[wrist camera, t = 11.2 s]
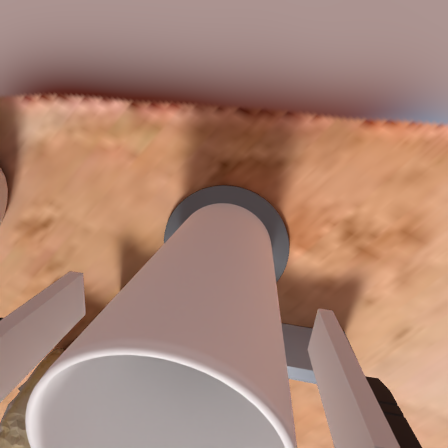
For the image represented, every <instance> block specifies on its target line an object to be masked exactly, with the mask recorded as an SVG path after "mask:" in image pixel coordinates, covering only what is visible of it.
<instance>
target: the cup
mask: <svg viewBox="0 0 448 448" xmlns="http://www.w3.org/2000/svg"><path fill="white" fill-rule="evenodd" d="M25 424H26V433H27V437H28V441H29V444H30V447H31V448H297V443H296V435H295V427H294V419H293V411H292V403H291V395H290V387H289V379H288V371H287V363H286V355H285V348H284V340H283V332H282V324H281V316H280V308H279V301H278V293H277V285H276V277H275V269H274V262H273V254H272V246H271V240H270V236H269V234H268V231H267V229H266V227H265V226H264V224H263V223H262V222H261V221H260V219H259V218H258V217H257V216H255V215H254V214H253V213H252V212H250V211H249V210H247V209H245V208H243V207H240V206H237V205H234V204H228V203H217V204H211V205H208V206H205V207H202V208H200V209H199V210H197V211H195V212H194V213H193V214H192V215H191V216H190V217H189V218H188V219H187V220H186V221H185V222H184V223H183V224H182V225H181V226H180V227H179V228H178V229H177V230H176V232H175V233H174V234H173V235H172V236H171V237H170V238H169V239H168V240H167V241H166V242H165V243H164V244H163V246H162V247H161V248H160V249H159V250H158V251H157V252H156V253H155V254H154V255H153V256H152V257H151V258H150V260H149V261H148V262H147V263H146V264H145V265H144V266H143V267H142V268H141V269H140V270H139V271H138V272H137V273H136V275H135V276H134V277H133V278H132V279H131V280H130V281H129V282H128V283H127V284H126V285H125V286H124V287H123V289H122V290H121V291H120V292H119V293H118V294H117V295H116V296H115V297H114V298H113V299H112V300H111V301H110V303H109V304H108V305H107V306H106V307H105V308H104V309H103V310H102V311H101V312H100V313H99V314H98V315H97V317H96V318H95V319H94V320H93V321H92V322H91V323H90V324H89V325H88V326H87V327H86V328H85V330H84V331H83V332H82V333H81V334H80V335H79V336H78V337H77V338H76V339H75V340H74V341H73V343H72V344H71V345H70V346H69V347H68V348H67V349H66V350H65V351H64V352H63V353H62V354H61V355H60V357H59V358H58V359H57V360H56V361H55V362H54V363H53V364H52V365H51V366H50V367H49V369H48V370H47V371H46V373H45V374H44V375H43V377H42V378H41V379H40V381H39V382H38V383H37V385H36V386H35V387H34V389H33V391H32V393H31V395H30V398H29V401H28V403H27V408H26V417H25Z"/></svg>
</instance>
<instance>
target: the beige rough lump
mask: <svg viewBox="0 0 448 448" xmlns="http://www.w3.org/2000/svg"><path fill="white" fill-rule="evenodd" d="M63 352H64V350H63V349H61V348H60V349H55V350H53V351H52V352H50V353H49V354H48V355H47V356H46V357H45V358H44V359H43V360H42V361H41V362H40V364H39V365H38V366H37V368H36V369H35V370H34V372H33V373H32V375H31V376H30V377H29V379H28V380H27V381H26V382H25V383H24V384H23V385H22V386H21V387H19V388H18V389H19V390H20V392H19V393H18V395H17V396H16V397H15V398H14V399H13V400H12V401H11V402H10V403H9V404H8V407H7V409H6V411H5V413H4V416H3V418H2V420H1V423H0V448H31V447H30V444H29V441H28V437H27V433H26V424H25V417H26V408H27V403H28V401H29V398H30V395H31V393H32V391H33V389H34V387H35V386H36V385H37V383H38V382H39V381H40V379H41V378H42V377H43V375H44V374H45V373H46V371H47V370H48V369H49V367H50V366H51V365H52V364H53V363H54V362H55V361H56V360H57V359H58V358H59V357H60V355H61V354H62V353H63Z"/></svg>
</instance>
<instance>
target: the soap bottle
mask: <svg viewBox="0 0 448 448" xmlns="http://www.w3.org/2000/svg"><path fill="white" fill-rule="evenodd" d="M7 196H8V187H7V182H6V178H5V175H4V173H3V171H2V169H1V168H0V224H1V221H2V219H3V217H4V215H5V210H6V205H7Z"/></svg>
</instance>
